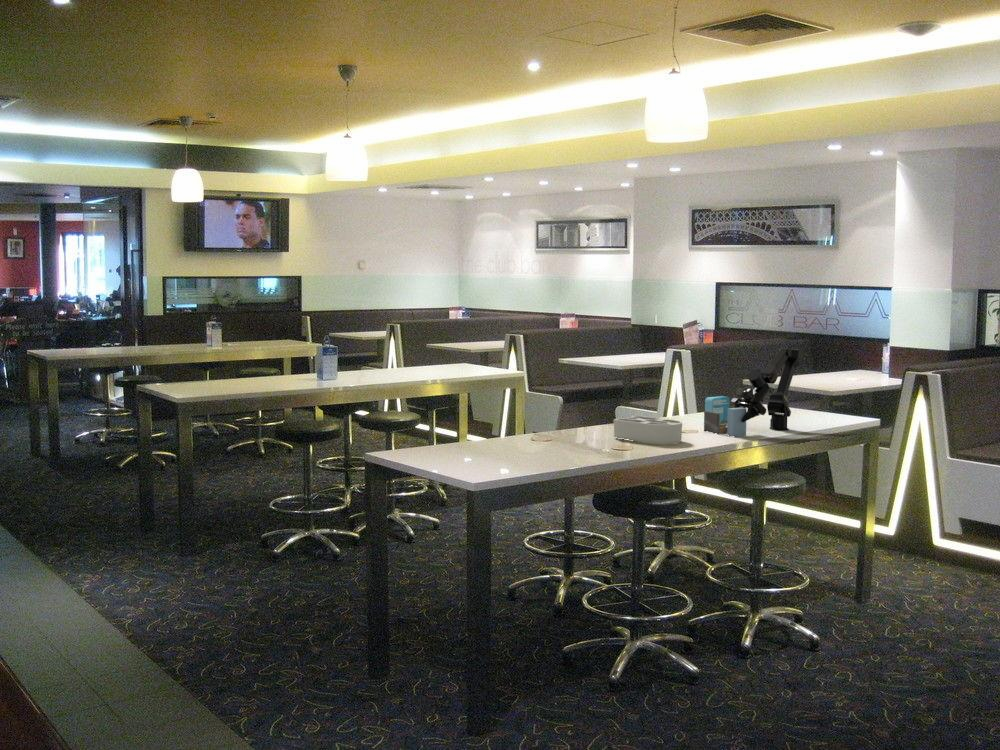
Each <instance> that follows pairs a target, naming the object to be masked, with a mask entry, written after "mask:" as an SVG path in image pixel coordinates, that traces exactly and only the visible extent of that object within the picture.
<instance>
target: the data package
mask: <svg viewBox="0 0 1000 750" xmlns="http://www.w3.org/2000/svg"><path fill="white" fill-rule="evenodd" d="M728 408H730V397H729V396H724V395H718V396H711V397H710V396H708V397H706V398H705V400H704V411H709V412H714V413H719V422H721V423H724V422H723V421H727V414H728Z"/></svg>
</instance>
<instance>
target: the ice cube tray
mask: <svg viewBox="0 0 1000 750" xmlns="http://www.w3.org/2000/svg"><path fill="white" fill-rule="evenodd" d="M682 429H683V422H682V421H681V420H675V419H668V418H667V419H666V418H659V417H651V416H645V415H644V416H643V415H633V416H629V417H628V418H624V417H622V418H621V417H620V418H614V419H613V437H617V438H624V439H629V440H633V441H638V442H637V443H640V442H644V443H643V444H647V443H651V444H650V445H655V444H673V445H676V444H675V443H679V444H681V443H680V442H682V437H683V432H682ZM633 441H632V442H633Z"/></svg>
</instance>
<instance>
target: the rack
mask: <svg viewBox="0 0 1000 750" xmlns="http://www.w3.org/2000/svg"><path fill="white" fill-rule="evenodd" d="M703 413H704V414H703V432H706V431H708V432H707V433H711V432H713V433H712V434H715V433H717V434H716V435H719V434H718V433H724V434H727V426H726V425H727V424H725V423H724V424H723V423H722V424H720V423H719V413H714V412H709V411H705V410H704V411H703Z"/></svg>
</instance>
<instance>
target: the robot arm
mask: <svg viewBox="0 0 1000 750" xmlns="http://www.w3.org/2000/svg"><path fill="white" fill-rule="evenodd" d="M804 357H805V356H804V351H802V349H800V348H799V349H797V348H789V347H780V348H778V351H777V352H776V354H775V356H774V357H773V359H772V360H771V361H770V363H769V364H768V365H767V366H765V367H763V368H762V369H760V368H754V370H751V371H750V372H749V373H748V374H747V377H746V378H747V380H748V381H749V383H750V384H751V386H752V387H753V389H751V388H747V389H744V388H740V387H739V388H738V389H737V392H736V394H735V395H736V396H737V397H732V399H731V400H730V403H731V404H732V406H733V407H734V408H746V413H745V415H744V416H743V418H742V420H741V422H745V421H746V422H747V421H749V420H751V419H753V418H756V417H758V416H765V415H766V414H768V416H771V417H770V419H769V420H770V421H769V422H770V423H769V424H770V425H769V429H771V430H774V431H789V430H790V428H788V418H789V417H790V418H791V414H792V410H791V409H790V407H789V401H788V397H787V396H788V393H789V390H790V386H791V384H792V380H793V376H794V374H795V371H796V369H797V368H798V367H799V366H800V365H801V363H802V361H803V359H804ZM782 367H783V369H782V372H781V375H780V377H779V371H780V370H781V368H782ZM778 377H779V382H778V384H777V387H776V391H775V393H774V394H773V393H772V392H773V390H772V388H773V387H772V386H770V385H769V384H771V385H774V384H775V383H776V381H777V379H778ZM767 394H770V395H769V398H768V401H767V405H766V406H767V408H766V407H765V405H764V404H763V403H764V398H765V397H766V395H767ZM738 397H740V398H738Z"/></svg>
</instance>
